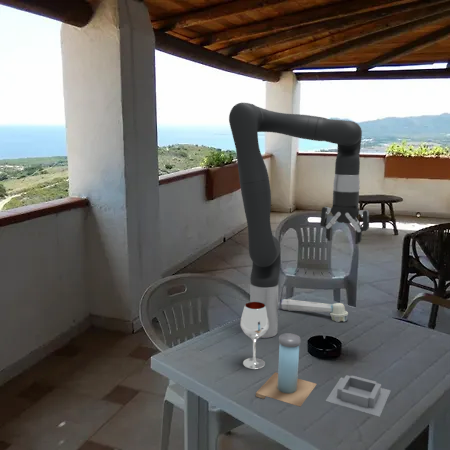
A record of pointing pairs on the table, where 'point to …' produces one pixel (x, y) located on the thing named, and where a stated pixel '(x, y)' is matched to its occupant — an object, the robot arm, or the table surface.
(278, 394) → the light brown wooden board
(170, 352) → the table surface
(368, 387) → the cartridge housing
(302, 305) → the toothbrush head
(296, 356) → the filter cartridge
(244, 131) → the robot arm
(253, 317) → the wineglass
